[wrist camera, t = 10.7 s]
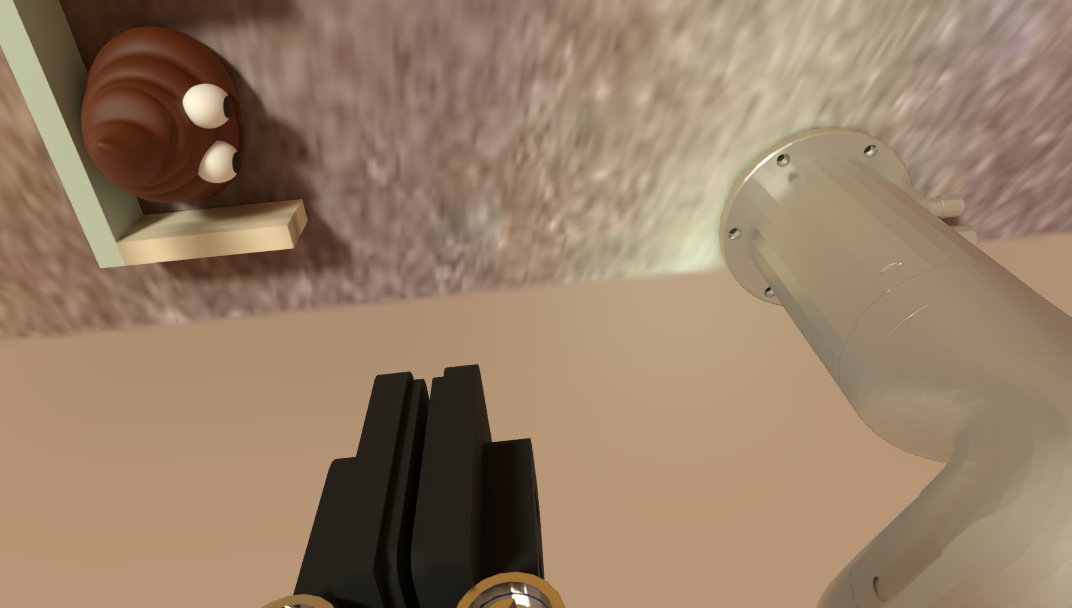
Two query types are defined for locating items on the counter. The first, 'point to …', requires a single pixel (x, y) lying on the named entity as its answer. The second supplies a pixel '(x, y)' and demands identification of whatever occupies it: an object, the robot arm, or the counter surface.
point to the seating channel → (101, 206)
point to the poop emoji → (162, 116)
